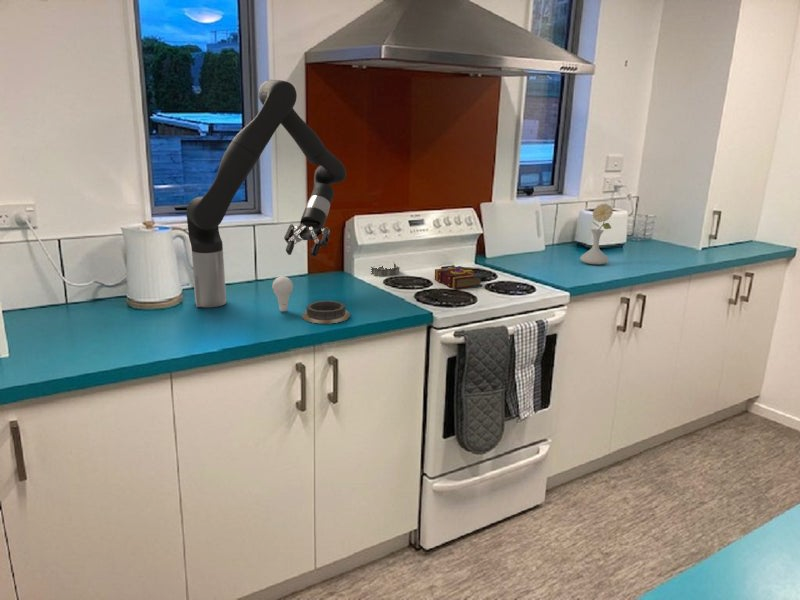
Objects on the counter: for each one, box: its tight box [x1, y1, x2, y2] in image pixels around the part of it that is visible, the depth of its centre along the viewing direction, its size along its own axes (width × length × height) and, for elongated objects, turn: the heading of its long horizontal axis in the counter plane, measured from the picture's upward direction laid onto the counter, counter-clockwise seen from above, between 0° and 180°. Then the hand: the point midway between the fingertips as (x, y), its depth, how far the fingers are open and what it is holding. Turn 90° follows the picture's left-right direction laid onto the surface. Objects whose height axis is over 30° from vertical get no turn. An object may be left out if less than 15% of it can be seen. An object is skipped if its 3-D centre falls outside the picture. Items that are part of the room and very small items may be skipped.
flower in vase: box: [579, 203, 614, 265], centre depth 259 cm, size 13×11×25 cm
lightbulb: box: [271, 275, 294, 313], centre depth 193 cm, size 6×6×11 cm
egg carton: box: [370, 262, 401, 278], centre depth 241 cm, size 11×8×4 cm
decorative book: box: [434, 265, 484, 290], centre depth 230 cm, size 11×16×5 cm
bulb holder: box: [302, 300, 351, 325], centre depth 190 cm, size 14×14×3 cm
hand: (300, 254), depth 201 cm, fingers open, 8 cm apart
